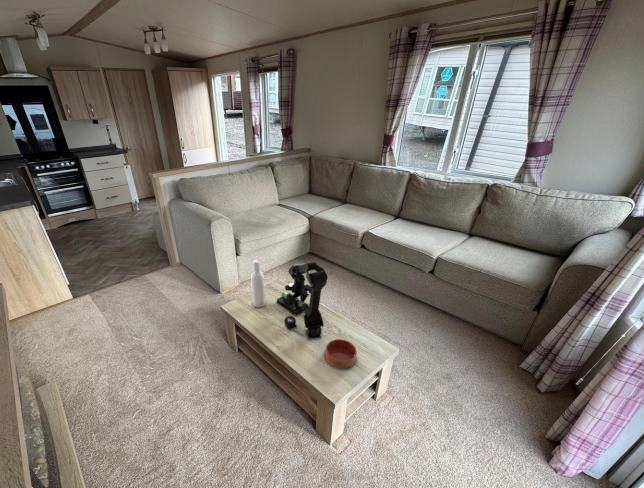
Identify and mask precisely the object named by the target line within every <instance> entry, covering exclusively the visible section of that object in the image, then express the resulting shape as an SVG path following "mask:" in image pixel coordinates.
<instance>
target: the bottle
mask: <svg viewBox="0 0 644 488" xmlns="http://www.w3.org/2000/svg"><path fill="white" fill-rule="evenodd" d="M252 267H253V272H252V273H251V275H250V285H251V286H250V287H251V295H252V296H251V297H252V305H253V306H254V307H255V308H263V307H264V306H266V301H267V300H266V286H265V274H264V273H263V272H262V271H261V262H260V260H259V259H254V260H253V261H252Z"/></svg>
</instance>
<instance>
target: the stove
mask: <svg viewBox="0 0 644 488" xmlns="http://www.w3.org/2000/svg"><path fill="white" fill-rule="evenodd" d="M287 293H288V294H290V295H292V296H293V293H290V292H287ZM276 303H277V304H279V305H280V306H281V307H283V308H284V309H286V310H287V311H289V312H290V313H292V314H293V315H295V316H296V317H297V316H298V315H300V314H301V313H303V312H305V308H306V307H309V304H308V303H306V302H305V301H304V303H303V304H302V308H296V307H295V305H294V303H293V304H292V305H290V304H289V303H287V302H286V301H284V297H282V296H279V297H278V298H277V299H276Z"/></svg>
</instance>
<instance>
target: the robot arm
mask: <svg viewBox="0 0 644 488" xmlns="http://www.w3.org/2000/svg"><path fill="white" fill-rule="evenodd" d="M311 271H315V272H311ZM309 272H310V273H309ZM288 274H289V276H290V277H291V278H292V280H293V282H290V283H288V284H285V285H284V290H285V292H291V293H290V294H292V295H293V296H292V295H290V294H289V295H287V296H285V297H284V301H286V302H287V303H289V304H290V305H292V304H293V303H294V305H295V307H296V308H297V307H298V303H299V300H298V299H302V304H303V303H304V302H305V301H306V300H307V299H308V297H309V304H308V305H309V306H308V307H306V308H305V311H304V314H303V321H304V328H305V329H306V333H307V338H308V339H320V338H322V336H321V335H322V328H323V327H324V325H325V323H324V320H323V317H322V313H321V311H320V309H319V308H320V302H321V295H322V289H323V288H325V286H327V282H328V274H327V272H326V270H325V269H324V268H323V267H322V266H321V265H318V264H317V262H316V261H310V262H306V263H305V262H301V263H295V264H292V265H291V267H289V269H288ZM305 274H306V275H305ZM306 280H307V282H308V283H309V284H305V281H306ZM299 297H300V298H299Z"/></svg>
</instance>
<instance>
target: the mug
mask: <svg viewBox="0 0 644 488" xmlns="http://www.w3.org/2000/svg"><path fill="white" fill-rule="evenodd" d="M285 316H286V317H284V321H283V322H284V326H285V328H286V329H288V330H292V329H294V331H295V332H297V333H299V334H301V335H302V333H300V332H299V331H298V330H296V329H295V328H297V320H296V318H295V317H294V316H292V315H288V314H287V313H285Z"/></svg>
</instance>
